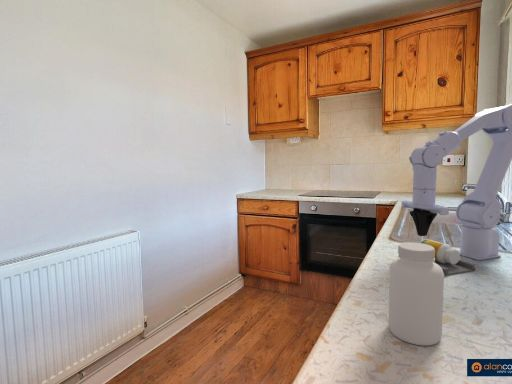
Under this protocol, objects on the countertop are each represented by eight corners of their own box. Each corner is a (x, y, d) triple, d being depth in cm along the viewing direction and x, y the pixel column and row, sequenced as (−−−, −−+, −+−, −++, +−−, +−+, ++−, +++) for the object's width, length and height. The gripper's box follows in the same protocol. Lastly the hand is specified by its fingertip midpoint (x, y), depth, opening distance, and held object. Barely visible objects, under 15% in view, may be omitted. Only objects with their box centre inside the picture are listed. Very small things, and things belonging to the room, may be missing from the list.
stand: (437, 257, 88) (437, 252, 88) (474, 270, 78) (475, 264, 78) (410, 261, 85) (410, 256, 85) (445, 275, 75) (445, 269, 75)
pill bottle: (379, 321, 54) (381, 240, 53) (421, 319, 55) (424, 239, 53) (404, 349, 46) (408, 254, 45) (453, 345, 47) (458, 252, 45)
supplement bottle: (432, 239, 89) (464, 248, 80) (428, 256, 89) (460, 267, 80) (418, 237, 87) (449, 246, 78) (415, 255, 87) (446, 266, 78)
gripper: (394, 187, 91) (392, 231, 93) (435, 191, 77) (432, 243, 79) (412, 186, 93) (410, 229, 95) (455, 190, 80) (453, 240, 81)
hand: (422, 235), depth 87 cm, fingers closed
